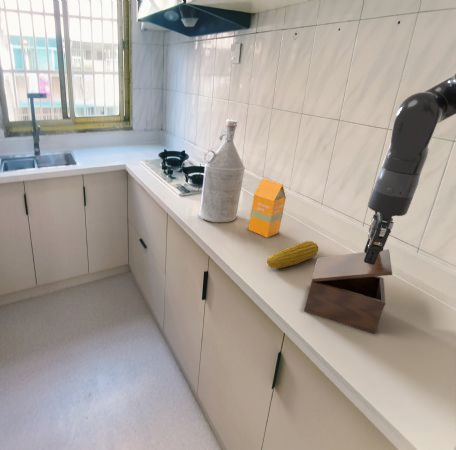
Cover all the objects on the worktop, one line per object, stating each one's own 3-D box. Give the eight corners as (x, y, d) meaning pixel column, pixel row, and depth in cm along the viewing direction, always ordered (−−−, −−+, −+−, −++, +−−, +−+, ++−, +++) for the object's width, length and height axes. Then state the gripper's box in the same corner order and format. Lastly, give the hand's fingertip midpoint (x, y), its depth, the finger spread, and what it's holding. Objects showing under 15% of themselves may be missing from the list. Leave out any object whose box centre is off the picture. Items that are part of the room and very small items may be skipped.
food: (304, 252, 116) (308, 236, 114) (318, 259, 112) (323, 243, 109) (261, 267, 106) (264, 250, 103) (275, 275, 102) (279, 258, 99)
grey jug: (192, 213, 145) (200, 117, 129) (227, 210, 151) (240, 117, 135) (205, 225, 134) (216, 121, 118) (243, 221, 140) (258, 121, 124)
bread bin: (373, 305, 90) (383, 277, 86) (373, 333, 80) (385, 303, 76) (310, 287, 97) (317, 260, 93) (303, 310, 86) (311, 281, 83)
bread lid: (389, 252, 83) (384, 233, 83) (392, 275, 73) (387, 254, 72) (318, 260, 93) (313, 243, 92) (312, 281, 83) (306, 263, 82)
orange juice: (259, 224, 137) (268, 177, 129) (279, 232, 130) (289, 182, 122) (247, 229, 132) (255, 180, 124) (267, 237, 126) (276, 186, 118)
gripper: (417, 203, 66) (388, 276, 73) (410, 185, 77) (385, 250, 84) (374, 195, 69) (349, 266, 76) (373, 179, 81) (352, 242, 88)
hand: (368, 257), depth 80 cm, fingers closed on bread lid, 5 cm apart
